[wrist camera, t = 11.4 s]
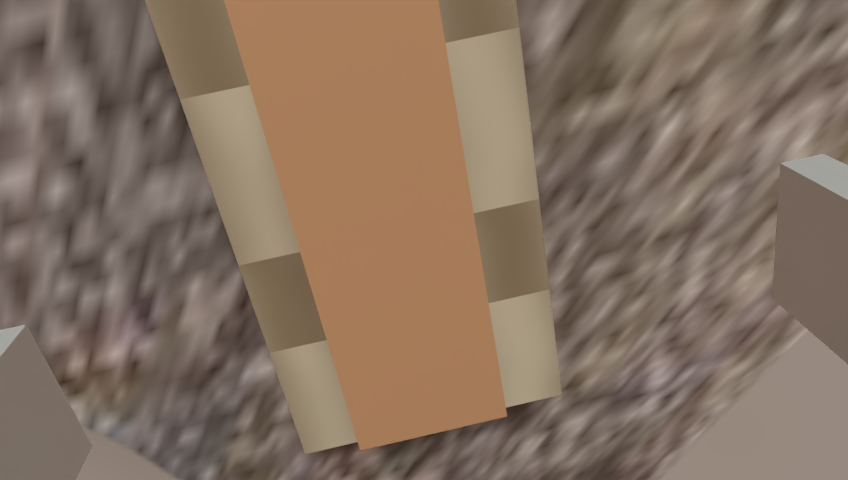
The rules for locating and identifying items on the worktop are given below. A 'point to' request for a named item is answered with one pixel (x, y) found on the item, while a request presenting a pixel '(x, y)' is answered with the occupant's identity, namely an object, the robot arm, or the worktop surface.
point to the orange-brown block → (378, 205)
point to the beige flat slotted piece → (273, 233)
